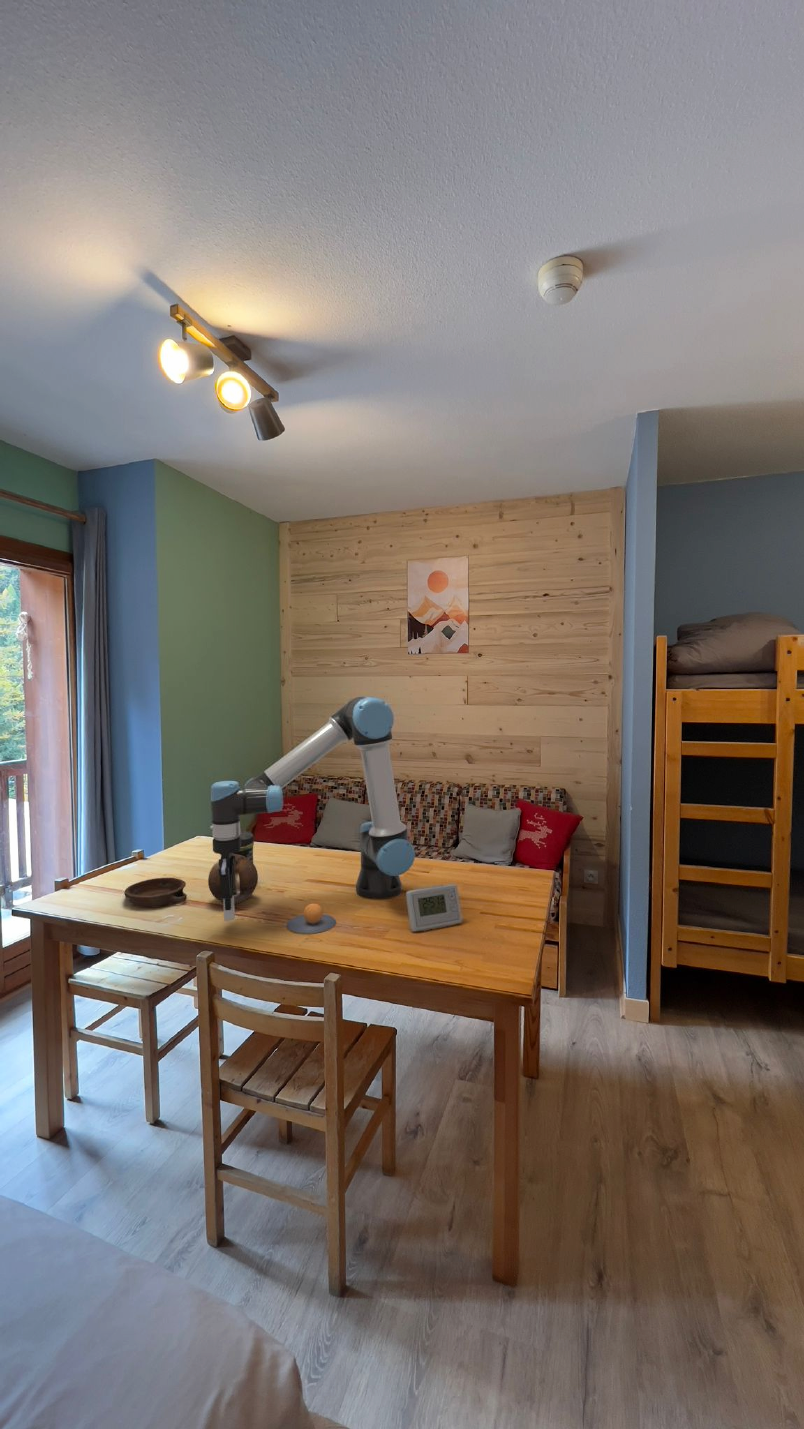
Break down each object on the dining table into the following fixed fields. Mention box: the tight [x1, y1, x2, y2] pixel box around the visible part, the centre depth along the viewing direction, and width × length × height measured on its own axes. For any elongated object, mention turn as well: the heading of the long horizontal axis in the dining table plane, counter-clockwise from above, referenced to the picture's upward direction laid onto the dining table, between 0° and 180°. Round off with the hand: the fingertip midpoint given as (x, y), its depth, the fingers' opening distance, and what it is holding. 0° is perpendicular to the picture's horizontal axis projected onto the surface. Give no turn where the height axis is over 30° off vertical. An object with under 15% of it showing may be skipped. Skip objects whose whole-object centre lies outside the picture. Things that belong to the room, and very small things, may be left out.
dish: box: [124, 877, 188, 909], centre depth 189 cm, size 18×22×5 cm
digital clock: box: [405, 883, 463, 932], centre depth 168 cm, size 16×9×11 cm, turn 101°
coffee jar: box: [234, 830, 255, 864], centre depth 200 cm, size 10×8×19 cm
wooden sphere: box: [207, 854, 259, 905], centre depth 187 cm, size 15×15×15 cm
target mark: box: [285, 913, 337, 935], centre depth 170 cm, size 14×14×1 cm
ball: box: [303, 903, 324, 924], centre depth 170 cm, size 6×6×6 cm
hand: (229, 919), depth 167 cm, fingers closed
